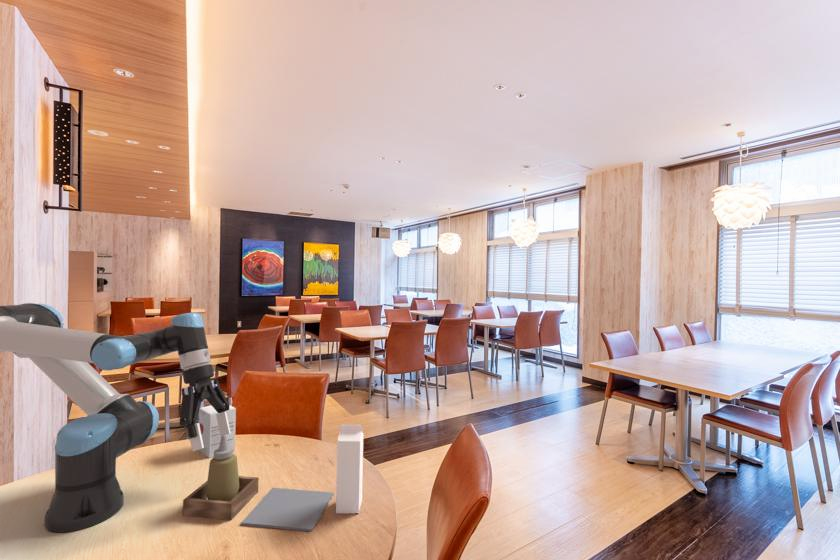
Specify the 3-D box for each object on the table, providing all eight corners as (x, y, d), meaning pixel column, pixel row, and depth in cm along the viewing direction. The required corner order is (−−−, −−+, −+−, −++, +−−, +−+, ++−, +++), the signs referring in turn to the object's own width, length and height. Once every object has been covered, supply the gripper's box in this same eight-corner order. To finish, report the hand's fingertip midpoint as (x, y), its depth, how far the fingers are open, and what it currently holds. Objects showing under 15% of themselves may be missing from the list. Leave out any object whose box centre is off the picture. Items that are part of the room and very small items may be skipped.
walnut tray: (182, 515, 98) (183, 499, 98) (215, 488, 111) (215, 474, 111) (231, 520, 97) (231, 504, 97) (258, 491, 110) (258, 477, 110)
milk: (340, 500, 106) (341, 420, 106) (362, 500, 106) (363, 420, 106) (335, 513, 100) (337, 428, 100) (359, 514, 100) (360, 429, 100)
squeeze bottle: (225, 514, 99) (226, 444, 99) (198, 509, 101) (199, 440, 101) (245, 496, 107) (246, 431, 107) (220, 493, 109) (221, 429, 109)
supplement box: (197, 450, 135) (198, 407, 134) (224, 442, 141) (225, 401, 141) (208, 458, 129) (209, 413, 129) (235, 450, 136) (236, 407, 135)
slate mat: (241, 525, 95) (241, 522, 95) (272, 489, 111) (272, 487, 111) (311, 531, 93) (311, 529, 93) (333, 494, 109) (333, 492, 109)
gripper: (181, 368, 98) (199, 452, 96) (232, 359, 123) (246, 426, 120) (153, 376, 98) (169, 461, 95) (209, 365, 123) (223, 432, 120)
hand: (212, 441), depth 108 cm, fingers open, 13 cm apart
